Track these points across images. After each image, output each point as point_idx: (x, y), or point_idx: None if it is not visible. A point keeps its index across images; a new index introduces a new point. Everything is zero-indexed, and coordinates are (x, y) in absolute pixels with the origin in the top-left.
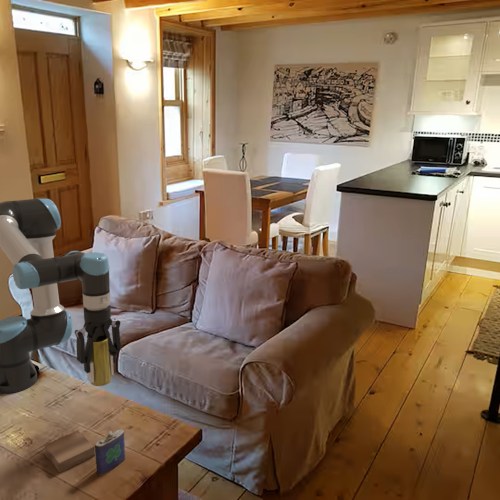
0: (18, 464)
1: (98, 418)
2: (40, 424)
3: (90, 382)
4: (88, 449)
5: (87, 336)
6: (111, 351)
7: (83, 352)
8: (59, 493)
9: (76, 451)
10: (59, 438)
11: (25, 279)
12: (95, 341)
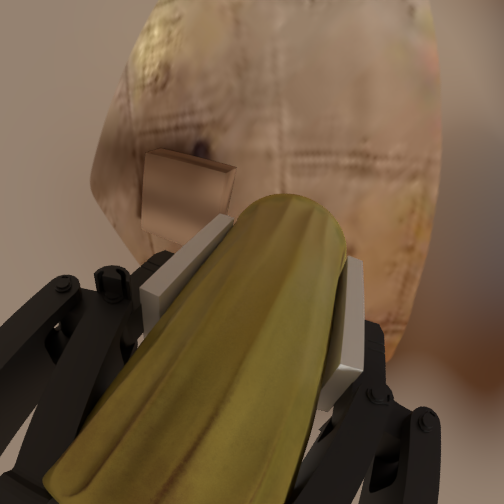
0: (119, 134)
1: (334, 143)
2: (215, 34)
3: (239, 216)
4: None
5: (2, 488)
6: (315, 442)
7: (38, 388)
8: (136, 255)
9: (178, 233)
10: (176, 161)
11: None
12: (176, 467)
